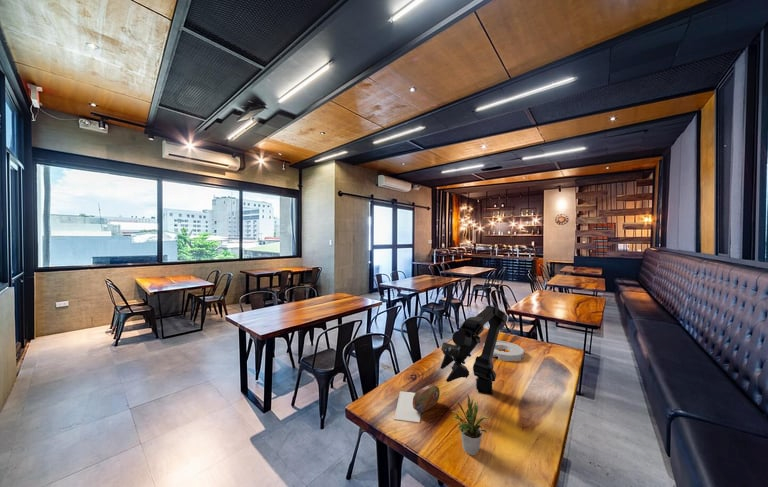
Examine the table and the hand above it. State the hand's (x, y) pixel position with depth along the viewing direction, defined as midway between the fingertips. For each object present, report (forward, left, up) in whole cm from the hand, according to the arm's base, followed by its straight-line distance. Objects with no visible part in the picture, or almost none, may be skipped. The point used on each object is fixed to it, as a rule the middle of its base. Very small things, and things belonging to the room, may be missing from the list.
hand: (443, 374), depth 122 cm
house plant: (-7, +25, -12) cm, 29 cm away
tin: (+8, +6, -12) cm, 15 cm away
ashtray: (-38, -59, -12) cm, 71 cm away
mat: (+15, +6, -12) cm, 20 cm away
